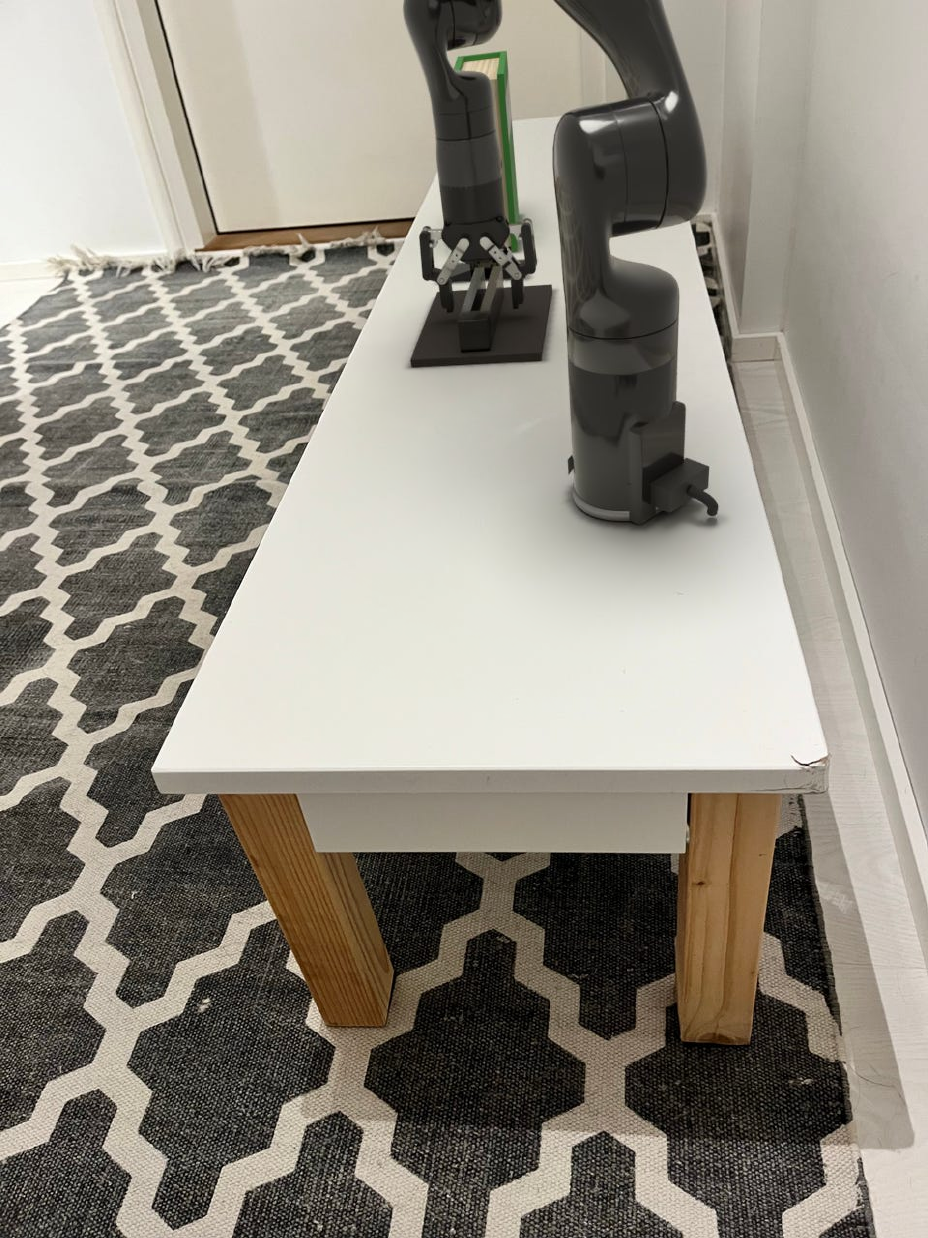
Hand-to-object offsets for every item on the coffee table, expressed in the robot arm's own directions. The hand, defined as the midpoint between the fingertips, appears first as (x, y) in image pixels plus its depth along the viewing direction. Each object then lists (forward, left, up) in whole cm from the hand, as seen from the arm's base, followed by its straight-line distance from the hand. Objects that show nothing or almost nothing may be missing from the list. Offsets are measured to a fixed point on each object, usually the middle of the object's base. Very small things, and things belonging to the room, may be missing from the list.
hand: (483, 308), depth 123 cm
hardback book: (+26, -26, -3) cm, 37 cm away
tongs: (0, 0, -1) cm, 2 cm away
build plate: (+15, -14, -3) cm, 21 cm away
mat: (0, 0, -2) cm, 2 cm away
